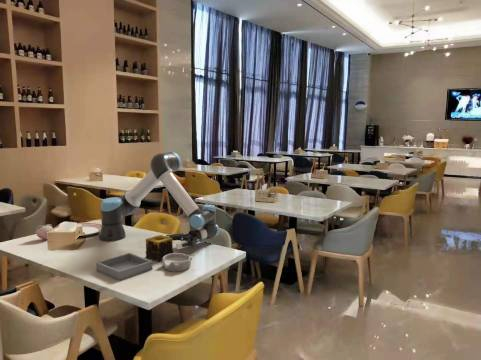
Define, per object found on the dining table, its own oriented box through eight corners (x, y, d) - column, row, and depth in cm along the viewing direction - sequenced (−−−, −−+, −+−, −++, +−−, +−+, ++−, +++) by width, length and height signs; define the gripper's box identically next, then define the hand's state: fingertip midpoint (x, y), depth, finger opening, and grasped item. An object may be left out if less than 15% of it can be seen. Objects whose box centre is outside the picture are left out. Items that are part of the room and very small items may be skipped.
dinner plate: (114, 231, 251) (114, 225, 251) (77, 241, 228) (77, 236, 227) (86, 225, 265) (86, 220, 265) (48, 234, 242) (48, 229, 241)
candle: (158, 262, 195) (158, 242, 193) (145, 258, 201) (144, 239, 199) (173, 256, 203) (173, 238, 201) (160, 252, 209) (160, 234, 207)
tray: (96, 270, 183) (96, 262, 182) (129, 260, 196) (129, 253, 196) (119, 280, 171) (118, 272, 171) (152, 269, 185) (152, 261, 184)
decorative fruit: (42, 243, 224) (41, 226, 223) (34, 240, 228) (32, 224, 227) (57, 239, 232) (56, 222, 231) (48, 236, 236) (47, 220, 235)
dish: (179, 274, 179) (179, 264, 179) (155, 269, 186) (155, 258, 185) (197, 264, 192) (197, 255, 191) (175, 260, 198) (175, 250, 198)
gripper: (213, 246, 214) (184, 256, 197) (182, 237, 229) (152, 246, 213) (213, 232, 213) (184, 241, 196) (181, 225, 228) (152, 232, 212)
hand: (167, 244), depth 205 cm, fingers open, 13 cm apart
